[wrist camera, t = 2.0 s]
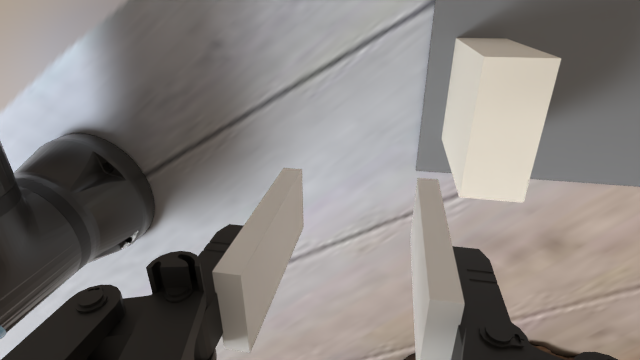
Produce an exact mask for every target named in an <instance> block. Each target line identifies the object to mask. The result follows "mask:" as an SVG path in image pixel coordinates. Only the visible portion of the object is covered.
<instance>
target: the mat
mask: <svg viewBox="0 0 640 360" xmlns="http://www.w3.org/2000/svg"><path fill="white" fill-rule="evenodd" d="M456 38H506V39H509V40H512V41H515V42H517V43H520V44H523V45H526V46H528V47H531V48H534V49H537V50H539V51H542V52H545V53H548V54H551V55H553V56H556V57H559V58H561V62H560V66H559V69H558V73H557V77H556V81H555V85H554V88H553V92H552V96H551V100H550V104H549V107H548V111H547V115H546V119H545V123H544V127H543V130H542V134H541V138H540V142H539V146H538V149H537V153H536V157H535V161H534V165H533V168H532V172H531V176H530V179H539V180H553V181H567V182H581V183H595V184H609V185H623V186H637V187H640V0H435V9H434V18H433V26H432V35H431V43H430V52H429V61H428V69H427V78H426V86H425V95H424V104H423V112H422V121H421V129H420V138H419V146H418V155H417V164H416V171H427V172H441V173H452V172H451V168H450V165H449V162H448V158H447V155H446V152H445V148H444V145H443V142H442V132H443V125H444V118H445V111H446V104H447V97H448V90H449V83H450V76H451V69H452V62H453V55H454V48H455V41H456Z"/></svg>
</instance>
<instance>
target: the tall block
mask: <svg viewBox="0 0 640 360" xmlns="http://www.w3.org/2000/svg"><path fill="white" fill-rule="evenodd" d="M560 62H561V58H559V57H556V56H553V55H551V54H548V53H545V52H542V51H539V50H537V49H534V48H531V47H528V46H526V45H523V44H520V43H517V42H515V41H512V40H509V39H506V38H456V41H455V48H454V55H453V62H452V69H451V76H450V83H449V90H448V97H447V104H446V111H445V118H444V125H443V132H442V142H443V145H444V148H445V152H446V155H447V158H448V162H449V165H450V168H451V172H452V175H453V178H454V181H455V185H456V188H457V191H458V195H459V197H462V198H474V199H487V200H499V201H511V202H523V203H524V199H525V195H526V191H527V188H528V184H529V180H530V176H531V172H532V168H533V165H534V161H535V157H536V153H537V149H538V146H539V142H540V138H541V134H542V130H543V127H544V123H545V119H546V115H547V111H548V107H549V104H550V100H551V96H552V92H553V88H554V85H555V81H556V77H557V73H558V69H559V66H560Z"/></svg>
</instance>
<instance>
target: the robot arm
mask: <svg viewBox="0 0 640 360" xmlns="http://www.w3.org/2000/svg"><path fill="white" fill-rule="evenodd" d="M153 216H154V200H153V195H152V192H151V189H150V186H149V184H148V182H147V180H146V178H145V176H144V174H143V173H142V171H141V170H140V169H139V167H138V166H137V165H136V163H135V162H134V161H133V160H132V159H131V158H130V157H129V156H128V155H127V154H126V153H124V152H123V151H122V150H121V149H119V148H118V147H116V146H115V145H113V144H111V143H110V142H108V141H106V140H104V139H101V138H99V137H96V136H92V135H87V134H69V135H65V136H62V137H60V138H57V139H55V140H52V141H50V142H48V143H46V144H44V145H43V146H41V147H40V148H39V149H38V150H37V151H36V152H35V153H34V154H33V155H32V156H31V157H30V158H29V159H27V160H26V161H25V162H24V163H23V164H22V165H21V166H20V167H19V168H18V169H17V170H16V171H15V172H14V173H13V171H12V169H11V166H10V164H9V161H8V159H7V156H6V154H5V151H4V149H3V146H2V144H1V141H0V339H1V338H3V337H4V335H5V334H6V333H7V332H8V331H9V330H10V329H11V328H12V327H13V326H15V325H16V324H17V323H18V322H19V321H20V320H22V319H23V318H24V317H25V316H26V315H27V314H29V313H30V312H31V311H32V310H33V309H34V308H35V307H37V306H38V305H39V304H40V303H41V302H42V301H44V300H45V299H46V298H47V297H48V296H49V295H50V294H52V293H53V292H54V291H55V290H56V289H57V288H59V287H60V286H61V285H62V284H63V283H64V282H66V281H67V280H68V279H69V278H70V277H71V276H72V275H74V274H75V273H76V272H77V271H78V270H79V269H81V268H82V267H83V266H84V265H86V264H87V263H89V262H92V261H94V260H97V259H99V258H102V257H104V256H107V255H109V254H112V253H114V252H117V251H119V250H122V249H124V248H126V247H128V246H130V245H131V244H133V243H134V242H135V241H136V240H137V239H138V238H139V237H141V236H142V235H143V234H144V233H145V232H146V231H147V229H148V228H149V226H150V225H151V222H152V220H153ZM302 229H303V191H302V169H291V168H283V170H282V171H281V173H280V174H279V176H278V177H277V178H276V180H275V181H274V183H273V184H272V186H271V187H270V189H269V190H268V191H267V193H266V194H265V196H264V197H263V199H262V200H261V202H260V203H259V205H258V206H257V207H256V209H255V210H254V212H253V213H252V215H251V216H250V218H249V219H248V220H247V222H246V223H245V225H244V226H241V225H231V224H229V225H227V226H226V227H224V228H223V229H221V230H219V231H218V232H217V233H216V234H215V235H214V237H213V238H212V239H211V240H210V243H208V244H207V246H206V247H205V248H204V251H202V252H201V253H200V254H199V256H197V255H195V254H193V253H191V252H185V251H178V252H170V253H168V254H165V255H162V256H160V257H158V258H156V259H155V260H153V261H152V262H151V263H150V264H149V265H148V266H147V267H146V269H147V273H148V277H149V281H150V285H151V289H152V295H149V296H143V297H134V298H125V299H123V298H122V295H121V292H120V291H119V289H118V288H117V287H115V286H112V285H98V286H94V287H89V288H87V289H85V290H83V291H80V292H78V293H77V294H76V295H74V296H73V297H71V298H70V299H69V300H68V301H66V302H65V303H64V304H63V305H62V306H61V307H60V308H59V309H57V310H56V311H55V312H54V313H53V314H52V315H51V316H50V317H48V318H47V319H46V320H45V321H44V322H43V323H42V324H41V325H40V326H38V327H37V328H36V329H35V330H34V331H33V332H32V333H31V334H29V335H28V336H27V337H26V338H25V339H24V340H23V341H22V342H20V343H19V344H18V345H17V346H16V347H15V348H14V349H13V350H12V351H10V352H9V353H8V354H7V355H6V356H5V357H4V358H3V359H1V360H216V349H215V347H216V346H217V344H218V342H219V340H220V338H221V336H222V337H223V343H224V349H228V350H234V351H240V352H246V353H250V352H251V350H252V347H253V345H254V343H255V340H256V338H257V335H258V333H259V331H260V328H261V326H262V324H263V321H264V319H265V317H266V314H267V312H268V309H269V307H270V305H271V302H272V300H273V298H274V295H275V293H276V291H277V288H278V286H279V284H280V281H281V279H282V276H283V274H284V272H285V269H286V267H287V265H288V262H289V260H290V258H291V255H292V253H293V250H294V248H295V246H296V243H297V241H298V239H299V236H300V234H301V232H302ZM410 242H411V265H412V287H413V309H414V331H415V353H416V360H565V359H562V358H560V357H557V356H554V355H552V354H549V353H547V352H544V351H542V350H540V349H538V348H536V347H534V346H533V345H531V344H530V343H529V341H528V338H527V337H526V335H525V334H524V333H523V332H522V331H521V329H520V328H518V327H517V326H516V325H514V324H513V323H511V321H510V318H509V315H508V312H507V309H506V306H505V303H504V300H503V298H502V295H501V292H500V289H499V286H498V285H497V280H496V277H495V275H494V272H493V269H492V266H491V263H490V260H489V259H488V258H487V257H486V256H485V255H484V254H483V253H482V252H481V251H480V250H479V249H473V248H463V247H453V246H452V242H451V238H450V233H449V228H448V224H447V219H446V214H445V210H444V205H443V200H442V196H441V191H440V186H439V182H438V179H425V178H417V186H416V194H415V203H414V211H413V219H412V228H411V236H410ZM574 360H618V359H616V358H613V357H611V356H609V355H605V354H601V353H598V352H583V353H581V354H579V355H577V356H575V359H574Z"/></svg>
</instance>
